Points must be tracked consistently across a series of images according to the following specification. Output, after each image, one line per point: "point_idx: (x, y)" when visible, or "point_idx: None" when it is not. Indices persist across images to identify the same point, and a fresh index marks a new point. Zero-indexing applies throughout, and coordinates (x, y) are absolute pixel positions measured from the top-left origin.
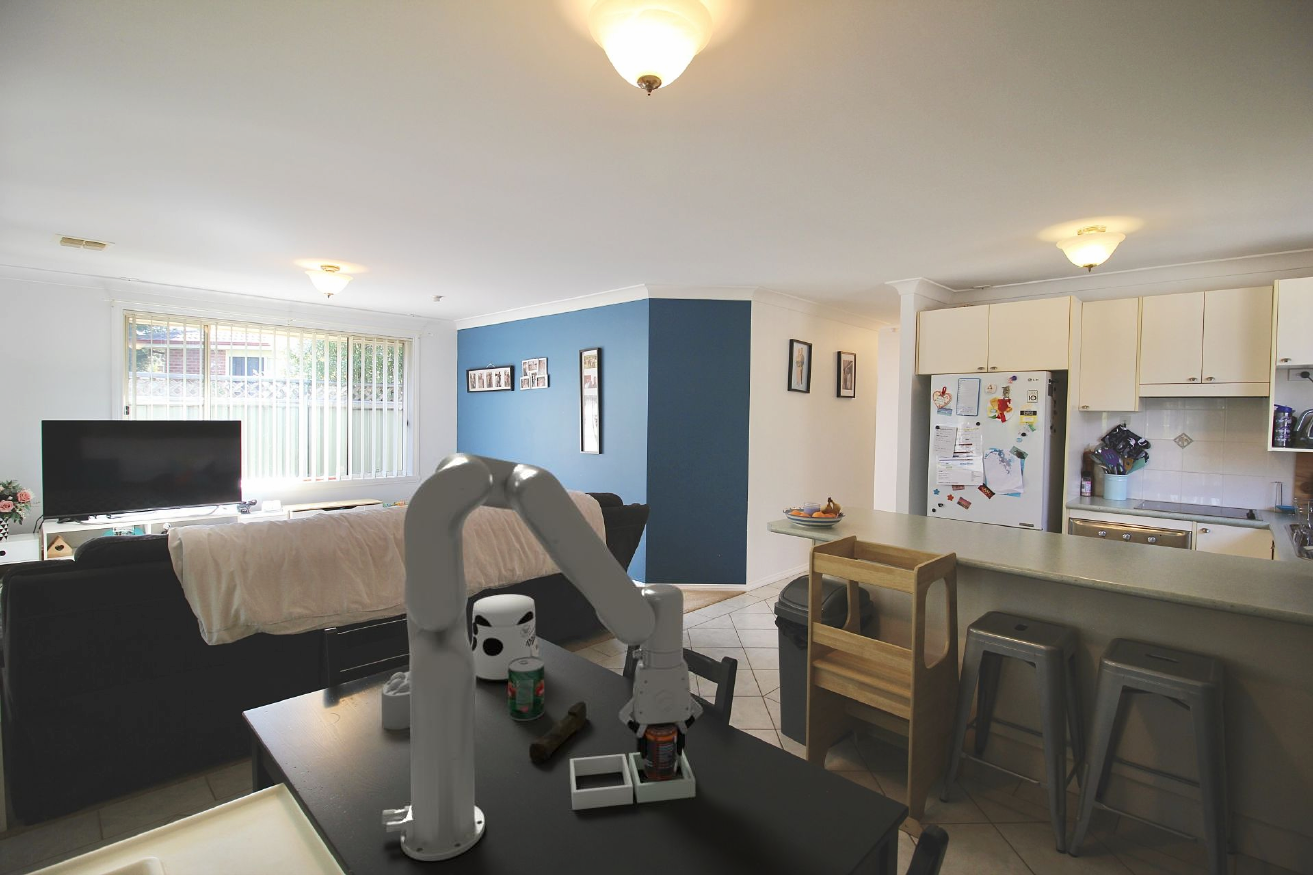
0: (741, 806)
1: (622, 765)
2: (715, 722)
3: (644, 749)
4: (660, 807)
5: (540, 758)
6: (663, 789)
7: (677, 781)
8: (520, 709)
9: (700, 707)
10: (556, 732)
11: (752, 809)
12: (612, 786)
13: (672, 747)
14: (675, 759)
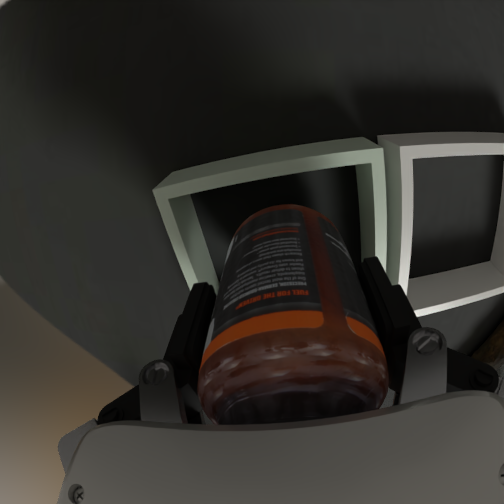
0: (58, 147)
1: None
2: None
3: (379, 283)
4: (286, 111)
5: None
6: (276, 157)
7: (219, 176)
8: None
9: (63, 459)
10: (497, 363)
11: (38, 141)
12: (461, 153)
13: (228, 292)
14: (224, 268)
